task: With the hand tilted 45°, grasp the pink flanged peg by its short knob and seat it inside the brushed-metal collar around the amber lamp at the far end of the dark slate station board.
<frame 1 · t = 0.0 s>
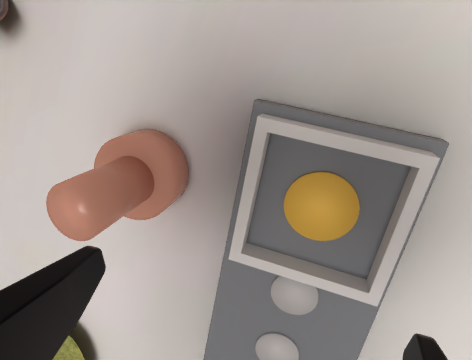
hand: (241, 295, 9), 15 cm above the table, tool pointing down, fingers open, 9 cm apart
station board: (300, 268, 26), on the table
mat: (56, 341, 37), on the table
pink flanged peg: (152, 168, 27), on the table
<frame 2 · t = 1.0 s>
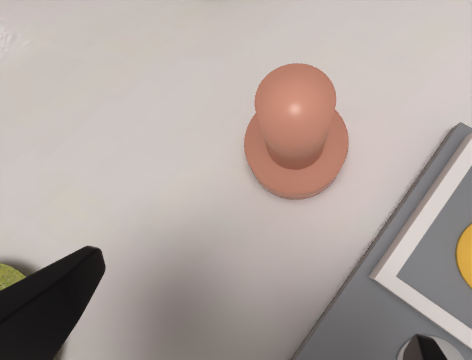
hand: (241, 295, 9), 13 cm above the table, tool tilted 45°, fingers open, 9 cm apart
station board: (436, 341, 20), on the table
mat: (1, 337, 25), on the table
pink flanged peg: (295, 154, 24), on the table
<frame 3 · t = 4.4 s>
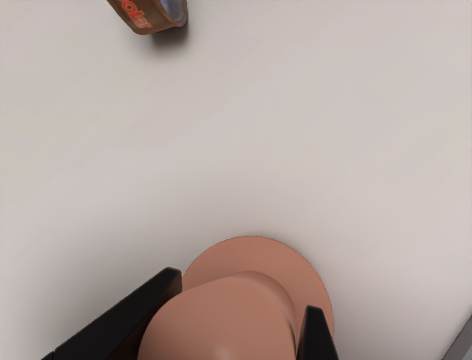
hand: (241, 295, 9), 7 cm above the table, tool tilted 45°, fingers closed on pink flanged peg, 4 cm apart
pink flanged peg: (257, 306, 16), on the table, touching gripper
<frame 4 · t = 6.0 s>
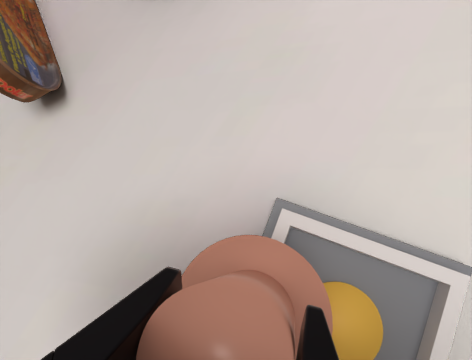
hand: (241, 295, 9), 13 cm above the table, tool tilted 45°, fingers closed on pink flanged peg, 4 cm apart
pink flanged peg: (257, 305, 16), point 6 cm above the table, touching gripper
tin: (35, 47, 30), on the table
when the fingers open (10 cm above the table, at t = 7.6 s): pink flanged peg drops 2 cm, resting on station board.
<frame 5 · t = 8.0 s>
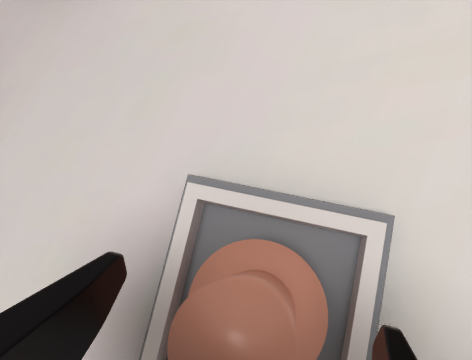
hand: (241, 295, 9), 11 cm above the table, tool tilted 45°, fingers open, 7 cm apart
pink flanged peg: (261, 301, 18), point 1 cm above the table, touching station board
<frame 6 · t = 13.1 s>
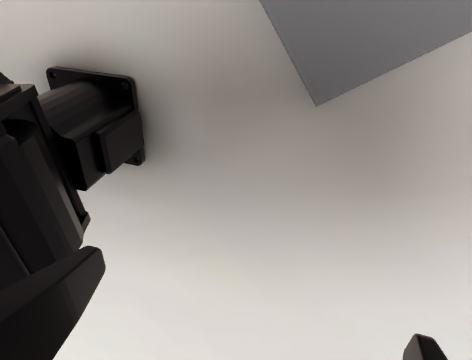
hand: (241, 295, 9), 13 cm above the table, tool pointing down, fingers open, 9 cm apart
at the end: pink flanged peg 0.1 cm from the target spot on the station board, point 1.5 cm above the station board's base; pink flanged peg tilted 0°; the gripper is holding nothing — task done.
